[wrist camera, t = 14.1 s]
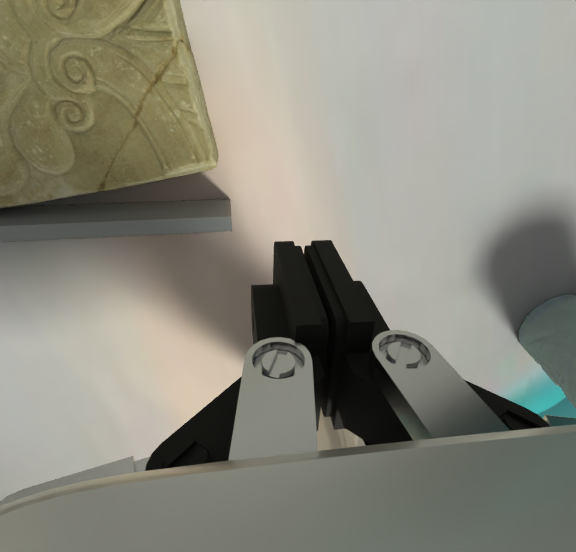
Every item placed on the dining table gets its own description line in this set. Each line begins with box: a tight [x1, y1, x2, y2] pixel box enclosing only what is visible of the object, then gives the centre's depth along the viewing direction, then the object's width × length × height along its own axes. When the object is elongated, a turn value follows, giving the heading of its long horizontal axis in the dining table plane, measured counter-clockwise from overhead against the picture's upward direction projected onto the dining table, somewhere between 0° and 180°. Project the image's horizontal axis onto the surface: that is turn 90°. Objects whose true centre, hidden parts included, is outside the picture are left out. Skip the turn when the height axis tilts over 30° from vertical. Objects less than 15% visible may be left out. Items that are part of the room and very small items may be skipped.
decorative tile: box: [0, 0, 218, 208], centre depth 22 cm, size 19×20×4 cm
